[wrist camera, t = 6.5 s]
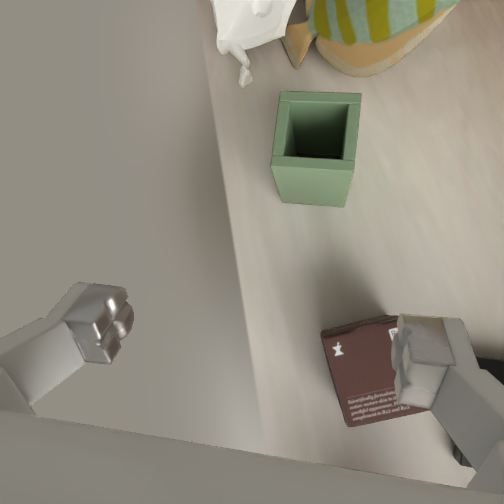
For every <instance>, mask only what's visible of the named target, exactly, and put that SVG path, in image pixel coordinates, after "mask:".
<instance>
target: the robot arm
mask: <svg viewBox="0 0 504 504" xmlns="http://www.w3.org/2000/svg"><path fill="white" fill-rule="evenodd" d="M127 298H128V295H127V291H126V289H125V288H123V287H118V286H110V285H102V284H94V283H93V284H91V283H83V282H78V283H76V284H74V285H73V286H72V287H71V288H70V289H69V291H68V292H67V293H66V294H65V295H64V297H63V298H62V299H61V300H60V301H59V302H58V303H57V305H56V306H55V307H54V308H53V309H52V310H51V312H50V313H49V314H48V315H47V316H46V318H39V319H37V320H35V321H33V322H31V323H29V324H28V325H25V326H23V327H22V328H20V329H18V330H16V331H14V332H12V333H10V334H8V335H6V336H4V337H2V338H0V504H504V385H503V384H502V383H500V382H499V381H498V380H497V379H496V378H495V377H494V376H493V375H491V374H490V373H489V372H488V371H487V370H484V369H480V368H479V365H478V362H477V360H476V357H475V354H474V351H473V348H472V346H471V343H470V340H469V337H468V334H467V332H466V329H465V326H464V323H463V321H462V320H461V319H459V318H447V317H435V316H423V315H412V314H400V315H399V317H398V321H397V328H398V332H397V333H395V334H394V336H393V341H392V348H391V360H392V368H393V369H394V370H395V371H396V372H397V374H396V377H395V381H394V384H395V391H396V398H397V404H403V405H409V406H415V407H422V408H428V409H431V412H432V413H433V414H434V416H435V417H436V418H437V420H438V421H439V422H440V424H441V425H442V426H443V428H444V429H445V430H446V432H447V433H448V434H449V436H450V437H451V438H452V440H453V441H454V442H455V444H456V445H457V446H458V448H459V449H460V450H461V452H462V453H463V454H464V456H465V457H466V459H467V460H468V461H469V463H470V464H471V465H472V467H473V468H474V469H475V471H476V472H477V473H476V474H475V476H474V477H473V479H472V480H471V482H470V483H469V485H468V486H467V488H460V487H455V486H449V485H443V484H437V483H431V482H425V481H419V480H413V479H407V478H401V477H395V476H389V475H383V474H377V473H371V472H365V471H359V470H354V469H348V468H342V467H336V466H330V465H324V464H318V463H312V462H306V461H300V460H294V459H288V458H282V457H276V456H270V455H264V454H258V453H253V452H247V451H241V450H235V449H228V448H223V447H217V446H210V445H205V444H198V443H193V442H186V441H181V440H175V439H169V438H162V437H157V436H151V435H145V434H139V433H133V432H127V431H121V430H115V429H110V428H104V427H98V426H92V425H86V424H80V423H74V422H68V421H62V420H56V419H50V418H44V417H38V416H37V415H36V414H35V412H34V411H33V409H32V408H31V407H30V406H31V405H32V404H33V403H35V402H36V401H37V400H39V399H40V398H41V397H43V396H44V395H45V394H46V393H48V392H49V391H50V390H52V389H53V388H54V387H55V386H57V385H58V384H59V383H61V382H62V381H63V380H64V379H66V378H67V377H68V376H70V375H71V374H72V373H74V372H75V371H76V370H77V369H79V368H80V367H81V366H83V365H84V364H85V362H92V363H101V364H111V363H112V362H113V360H114V358H115V357H116V355H117V353H118V352H119V350H120V348H121V345H120V341H121V340H122V339H124V338H125V337H127V336H128V334H129V333H130V331H131V329H132V325H133V321H134V312H133V309H132V306H130V305H129V304H128V303H127V302H126V299H127Z"/></svg>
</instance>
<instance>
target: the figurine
mask: <svg viewBox="0 0 504 504" xmlns="http://www.w3.org/2000/svg"><path fill="white" fill-rule="evenodd" d="M296 1H297V0H210V2H211V4H212V6H213V16H214V21H215V24H216V27H217V39H216V40H217V47H218V50H219V52H220V53H222V54H227V53H228V52H231V53H232V54H233V55H234V56H235V57H236V58H237V59H238V60H239V61H240V62H241V63H242V64H243V65H242V67H241V69H240V78H239V85H240V86H241V87H242V88H243V87H245V86H246V84H248V83H251V82H252V81H253V77H252V75H251V73H250V72H249V70H248V68H249V66H250V61H249V59H248V57H247V55H246V53H245V51H244V50H246V49H251V48H254V47H257V46H259V45H262V44H265V43H268V42H271V41H273V40H276V39H278V38H280V37H283V36H285V31H286V26H287V22H288V19H289V16H290V14H291V11H292V9H293V7H294V5H295V3H296Z"/></svg>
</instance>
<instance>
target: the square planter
mask: <svg viewBox="0 0 504 504" xmlns="http://www.w3.org/2000/svg"><path fill="white" fill-rule="evenodd" d="M361 96H362V94H361V93H334V92H299V91H280V97H279V104H278V112H277V120H276V127H275V135H274V142H273V150H272V158H271V165H270V166H271V169H272V172H273V175H274V178H275V181H276V185H277V188H278V191H279V194H280V197H281V200H282V202H285V203H297V204H309V205H321V206H333V207H344V206H345V202H346V198H347V195H348V191H349V187H350V184H351V180H352V176H353V173H354V166H355V155H356V146H357V136H358V126H359V116H360V105H361ZM296 153H305V154H322V155H339V156H340V160H338V159H322V158H305V157H296Z"/></svg>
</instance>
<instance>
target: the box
mask: <svg viewBox="0 0 504 504" xmlns="http://www.w3.org/2000/svg"><path fill="white" fill-rule="evenodd" d="M398 317H399V316H389V315H384V316H380V317H376V318H373V319H368V320H364V321H359V322H355V323H351V324H348V325H344V326H340V327H336V328H332V329H329V330H325V331H322V332H321V333H320V334H321V339H322V343H323V347H324V351H325V355H326V359H327V363H328V366H329V370H330V374H331V377H332V381H333V384H334V388H335V391H336V394H337V397H338V400H339V404H340V407H341V410H342V413H343V416H344V420H345V423H346V425H347V427H356V426H360V425H365V424H370V423H375V422H379V421H383V420H388V419H392V418H397V417H402V416H406V415H411V414H416V413H420V412H424V411H429V410H431V409H428V408H422V407H415V406H409V405H403V404H397V398H396V391H395V384H394V381H395V377H396V374H397V372H396V371H395V370H394V369H393V368H392V360H391V348H392V341H393V336H394V334H395V333H397V332H398V328H397V321H398Z"/></svg>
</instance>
